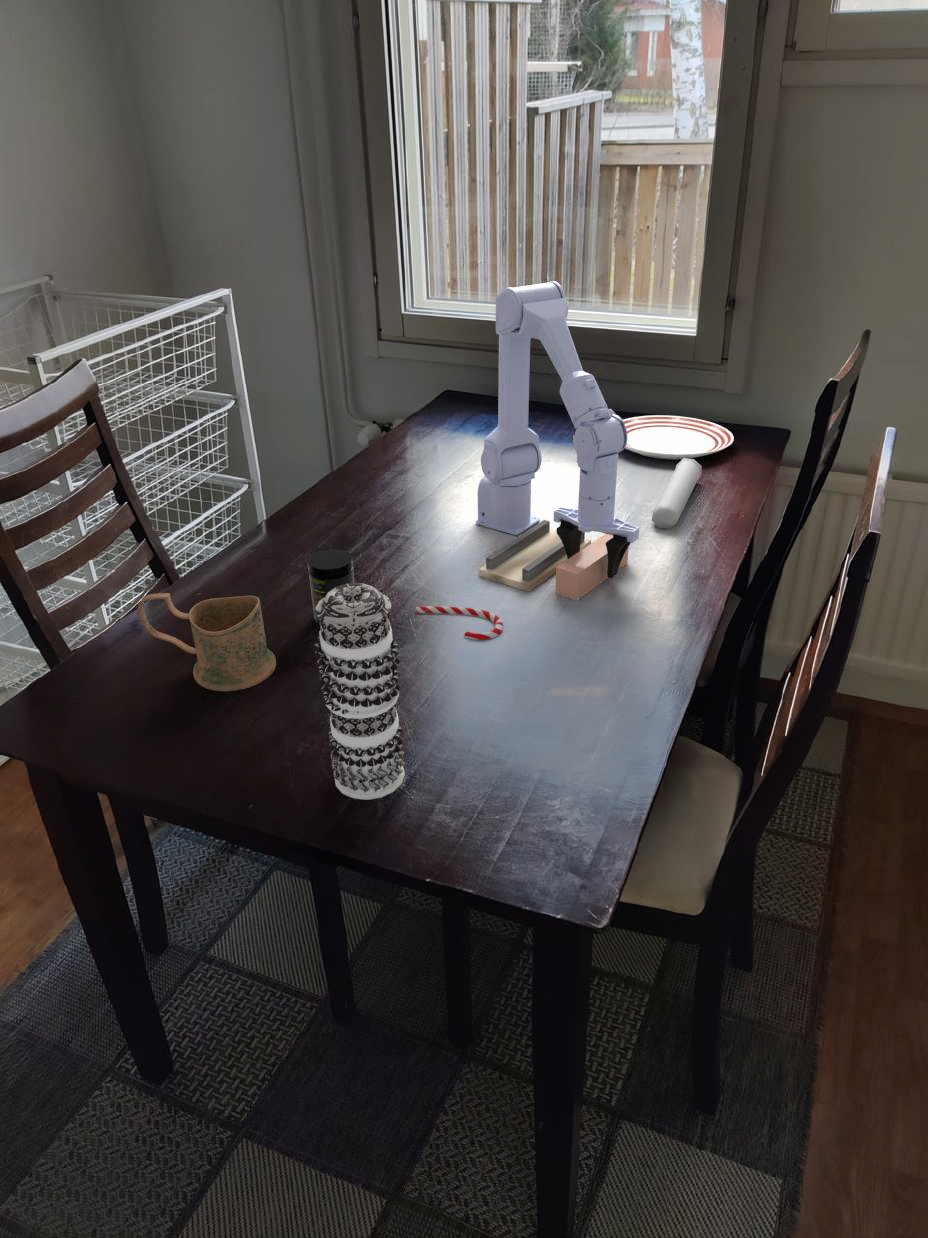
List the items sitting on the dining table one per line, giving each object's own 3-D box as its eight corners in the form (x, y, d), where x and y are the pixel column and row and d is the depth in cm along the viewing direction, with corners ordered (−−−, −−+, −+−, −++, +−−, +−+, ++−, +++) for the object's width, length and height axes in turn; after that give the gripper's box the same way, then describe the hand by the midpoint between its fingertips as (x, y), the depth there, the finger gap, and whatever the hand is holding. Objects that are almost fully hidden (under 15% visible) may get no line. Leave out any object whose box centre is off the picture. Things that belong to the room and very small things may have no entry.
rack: (478, 575, 154) (478, 558, 152) (542, 532, 168) (543, 516, 166) (529, 591, 149) (529, 574, 147) (590, 546, 162) (591, 529, 161)
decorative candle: (316, 792, 108) (291, 608, 95) (352, 745, 116) (333, 568, 103) (387, 810, 105) (371, 622, 92) (419, 761, 113) (408, 581, 100)
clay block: (555, 594, 148) (556, 566, 146) (606, 558, 159) (608, 531, 156) (576, 601, 146) (577, 573, 144) (627, 564, 157) (629, 537, 154)
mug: (166, 646, 137) (150, 575, 131) (283, 646, 136) (273, 574, 130) (140, 691, 127) (121, 616, 121) (266, 691, 126) (254, 616, 120)
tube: (682, 514, 164) (706, 464, 184) (654, 502, 165) (681, 453, 185) (670, 538, 167) (695, 487, 187) (643, 526, 168) (671, 476, 188)
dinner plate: (640, 419, 222) (641, 405, 220) (751, 439, 208) (753, 425, 206) (584, 453, 203) (585, 438, 201) (701, 478, 189) (703, 462, 187)
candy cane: (424, 596, 146) (512, 614, 141) (424, 603, 147) (512, 621, 142) (401, 620, 140) (492, 639, 135) (402, 627, 141) (492, 646, 136)
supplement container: (347, 633, 139) (340, 571, 134) (306, 626, 141) (299, 566, 135) (364, 611, 144) (359, 551, 139) (325, 605, 146) (319, 546, 141)
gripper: (544, 491, 146) (542, 567, 153) (626, 512, 138) (620, 591, 145) (567, 477, 151) (564, 552, 157) (647, 497, 143) (641, 574, 150)
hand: (592, 570), depth 152 cm, fingers open, 7 cm apart
